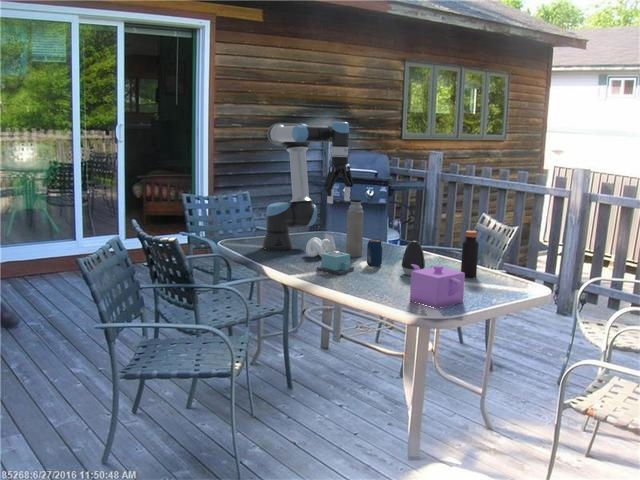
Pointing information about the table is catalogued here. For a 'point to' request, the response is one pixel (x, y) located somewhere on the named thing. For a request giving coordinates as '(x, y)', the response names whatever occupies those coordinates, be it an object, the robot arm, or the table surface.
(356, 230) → the thermos bottle
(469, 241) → the black water bottle
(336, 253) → the post base
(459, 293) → the teapot
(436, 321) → the table surface
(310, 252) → the white coiled rope
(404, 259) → the egg shaped speaker
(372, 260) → the soda can
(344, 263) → the teal rectangular planter
